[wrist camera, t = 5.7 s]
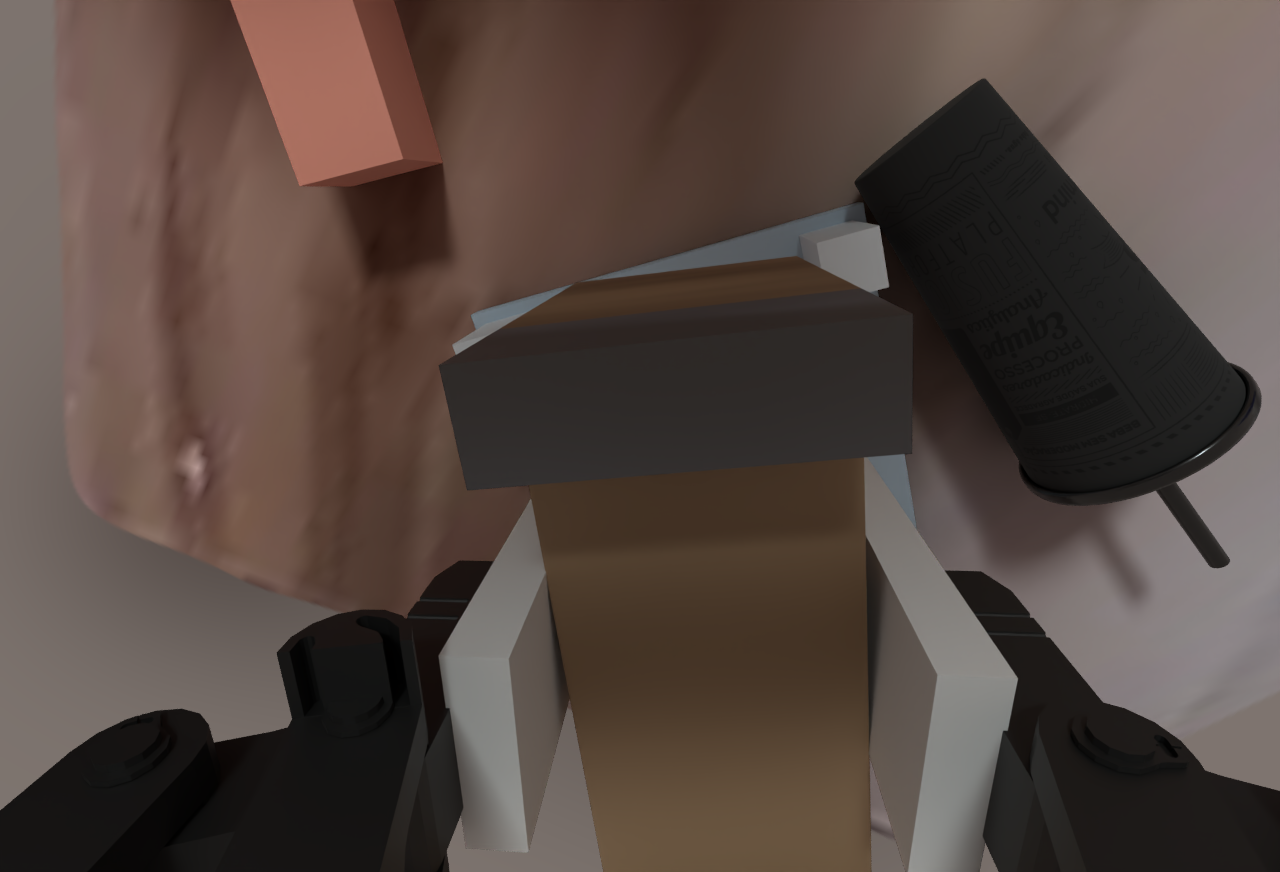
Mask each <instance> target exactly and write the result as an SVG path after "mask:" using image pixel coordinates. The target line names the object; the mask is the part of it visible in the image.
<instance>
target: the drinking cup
mask: <svg viewBox="0 0 1280 872" xmlns="http://www.w3.org/2000/svg"><path fill="white" fill-rule="evenodd" d="M855 185H856V187H857V188H858V190H859V192H860V194H861V195H862V197H863V199H864V200H865V202H866V204H867V205H868V207H869V209H870V210H871V212H872V214H873V215H874V217H875V219H876V220H877V222H878V224H879V225H880V227H881V229H882V231H883V232H884V234H885V236H886V237H887V239H888V241H889V242H890V244H891V246H892V247H893V249H894V251H895V252H896V254H897V256H898V257H899V259H900V261H901V263H902V264H903V266H904V268H905V269H906V271H907V273H908V274H909V276H910V278H911V279H912V281H913V283H914V284H915V286H916V288H917V289H918V291H919V293H920V295H921V296H922V298H923V300H924V301H925V303H926V305H927V306H928V308H929V310H930V311H931V313H932V315H933V316H934V318H935V320H936V321H937V323H938V325H939V327H940V328H941V330H942V332H943V333H944V335H945V337H946V338H947V340H948V342H949V343H950V345H951V347H952V348H953V350H954V352H955V353H956V355H957V357H958V359H959V360H960V362H961V364H962V365H963V367H964V369H965V370H966V372H967V374H968V375H969V377H970V379H971V380H972V382H973V384H974V385H975V387H976V389H977V391H978V392H979V394H980V396H981V397H982V399H983V401H984V402H985V404H986V406H987V407H988V409H989V411H990V412H991V414H992V416H993V417H994V419H995V421H996V423H997V424H998V426H999V428H1000V429H1001V431H1002V433H1003V434H1004V436H1005V438H1006V439H1007V441H1008V443H1009V444H1010V446H1011V448H1012V449H1013V451H1014V453H1015V455H1016V456H1017V458H1018V460H1019V472H1020V476H1021V478H1022V480H1023V482H1024V483H1025V485H1026V486H1027V487H1028V488H1029V489H1030V491H1031V492H1032V493H1034V494H1035V495H1037V496H1038V497H1040V498H1042V499H1044V500H1047V501H1050V502H1053V503H1057V504H1063V505H1074V506H1086V505H1099V504H1106V503H1112V502H1117V501H1122V500H1126V499H1130V498H1134V497H1138V496H1141V495H1144V494H1148V493H1151V492H1153V491H1156V492H1157V493H1158V494H1159V496H1160V497H1161V499H1162V500H1163V501H1164V503H1165V504H1166V506H1167V507H1168V508H1169V510H1170V511H1171V513H1172V514H1173V515H1174V517H1175V518H1176V520H1177V521H1178V523H1179V524H1180V525H1181V527H1182V528H1183V530H1184V531H1185V532H1186V534H1187V535H1188V537H1189V538H1190V539H1191V541H1192V542H1193V544H1194V545H1195V546H1196V548H1197V549H1198V551H1199V552H1200V553H1201V555H1202V556H1203V558H1204V559H1205V561H1206V562H1207V563H1208V565H1209V566H1210V567H1212V568H1222V567H1225V566H1226V565H1228V564H1229V562H1230V559H1229V557H1228V556H1227V554H1226V553H1225V552H1224V550H1223V549H1222V547H1221V546H1220V544H1219V543H1218V542H1217V540H1216V539H1215V537H1214V536H1213V535H1212V533H1211V532H1210V530H1209V529H1208V527H1207V526H1206V525H1205V523H1204V522H1203V520H1202V519H1201V517H1200V516H1199V515H1198V513H1197V512H1196V510H1195V509H1194V507H1193V506H1192V505H1191V503H1190V502H1189V500H1188V499H1187V498H1186V496H1185V495H1184V493H1183V492H1182V490H1181V489H1180V488H1179V486H1178V485H1177V483H1176V482H1178V481H1180V480H1182V479H1184V478H1186V477H1188V476H1190V475H1192V474H1194V473H1196V472H1198V471H1200V470H1201V469H1203V468H1204V467H1206V466H1208V465H1209V464H1211V463H1212V462H1214V461H1215V460H1217V459H1218V458H1220V457H1221V456H1222V455H1224V454H1225V453H1226V452H1228V451H1229V450H1230V449H1231V448H1232V447H1233V446H1235V445H1236V444H1237V443H1238V442H1239V441H1240V440H1241V439H1242V438H1243V437H1244V436H1245V435H1246V433H1247V432H1248V431H1249V430H1250V428H1251V427H1252V426H1253V424H1254V422H1255V421H1256V419H1257V417H1258V414H1259V412H1260V408H1261V391H1260V388H1259V387H1258V385H1257V383H1256V381H1255V380H1254V379H1253V377H1252V376H1251V375H1250V374H1249V373H1248V372H1247V371H1245V370H1244V369H1242V368H1241V367H1239V366H1237V365H1235V364H1232V363H1229V362H1227V361H1226V360H1225V359H1224V358H1223V356H1222V355H1221V354H1220V353H1219V352H1218V351H1217V349H1216V348H1215V347H1214V346H1213V345H1212V344H1211V342H1210V341H1209V340H1208V339H1207V338H1206V337H1205V335H1204V334H1203V333H1202V332H1201V331H1200V330H1199V328H1198V327H1197V326H1196V325H1195V324H1194V322H1193V321H1192V320H1191V319H1190V318H1189V317H1188V315H1187V314H1186V313H1185V312H1184V311H1183V310H1182V308H1181V307H1180V306H1179V305H1178V304H1177V303H1176V301H1175V300H1174V299H1173V298H1172V297H1171V296H1170V294H1169V293H1168V292H1167V291H1166V290H1165V288H1164V287H1163V286H1162V285H1161V284H1160V283H1159V281H1158V280H1157V279H1156V278H1155V277H1154V276H1153V274H1152V273H1151V272H1150V271H1149V270H1148V269H1147V267H1146V266H1145V265H1144V264H1143V263H1142V262H1141V260H1140V259H1139V258H1138V257H1137V256H1136V254H1135V253H1134V252H1133V251H1132V250H1131V249H1130V247H1129V246H1128V245H1127V244H1126V243H1125V242H1124V240H1123V239H1122V238H1121V237H1120V236H1119V235H1118V233H1117V232H1116V231H1115V230H1114V229H1113V228H1112V226H1111V225H1110V224H1109V223H1108V222H1107V221H1106V219H1105V218H1104V217H1103V216H1102V215H1101V213H1100V212H1099V211H1098V210H1097V209H1096V208H1095V206H1094V205H1093V204H1092V203H1091V202H1090V201H1089V199H1088V198H1087V197H1086V196H1085V195H1084V194H1083V192H1082V191H1081V190H1080V189H1079V188H1078V187H1077V185H1076V184H1075V183H1074V182H1073V181H1072V179H1071V178H1070V177H1069V176H1068V175H1067V174H1066V172H1065V171H1064V170H1063V169H1062V168H1061V167H1060V165H1059V164H1058V163H1057V162H1056V161H1055V160H1054V158H1053V157H1052V156H1051V155H1050V154H1049V153H1048V151H1047V150H1046V149H1045V148H1044V147H1043V145H1042V144H1041V143H1040V142H1039V141H1038V140H1037V138H1036V137H1035V136H1034V135H1033V134H1032V133H1031V131H1030V130H1029V129H1028V128H1027V127H1026V126H1025V124H1024V123H1023V122H1022V121H1021V120H1020V119H1019V117H1018V116H1017V115H1016V114H1015V113H1014V112H1013V110H1012V109H1011V108H1010V107H1009V106H1008V104H1007V103H1006V102H1005V101H1004V100H1003V99H1002V97H1001V96H1000V95H999V94H998V93H997V92H996V90H995V89H994V88H993V87H992V86H991V85H990V83H989V82H988V81H987V80H986V79H981V80H980V81H978V82H976V83H975V84H973V85H972V86H970V87H969V88H967V89H966V90H965V91H963V92H962V93H961V94H959V95H958V96H956V97H955V98H954V99H952V100H951V101H950V102H949V103H947V104H946V105H945V106H943V107H942V108H941V109H939V110H938V111H937V112H936V113H934V114H933V115H932V116H930V117H929V118H928V119H927V120H925V121H924V122H923V123H922V124H920V125H919V126H918V127H917V128H915V129H914V130H913V131H912V132H910V133H909V134H908V135H907V136H905V137H904V138H903V139H902V140H901V141H899V142H898V143H897V144H896V145H894V146H893V147H892V148H891V149H890V150H888V151H887V152H886V153H885V154H884V155H883V156H881V157H880V158H879V159H878V160H877V161H876V162H874V163H873V164H872V165H871V166H870V167H869V168H868V169H866V170H865V171H864V172H863V173H862V174H861V175H860V176H859V177H858V178H857V179H856V181H855Z"/></svg>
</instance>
